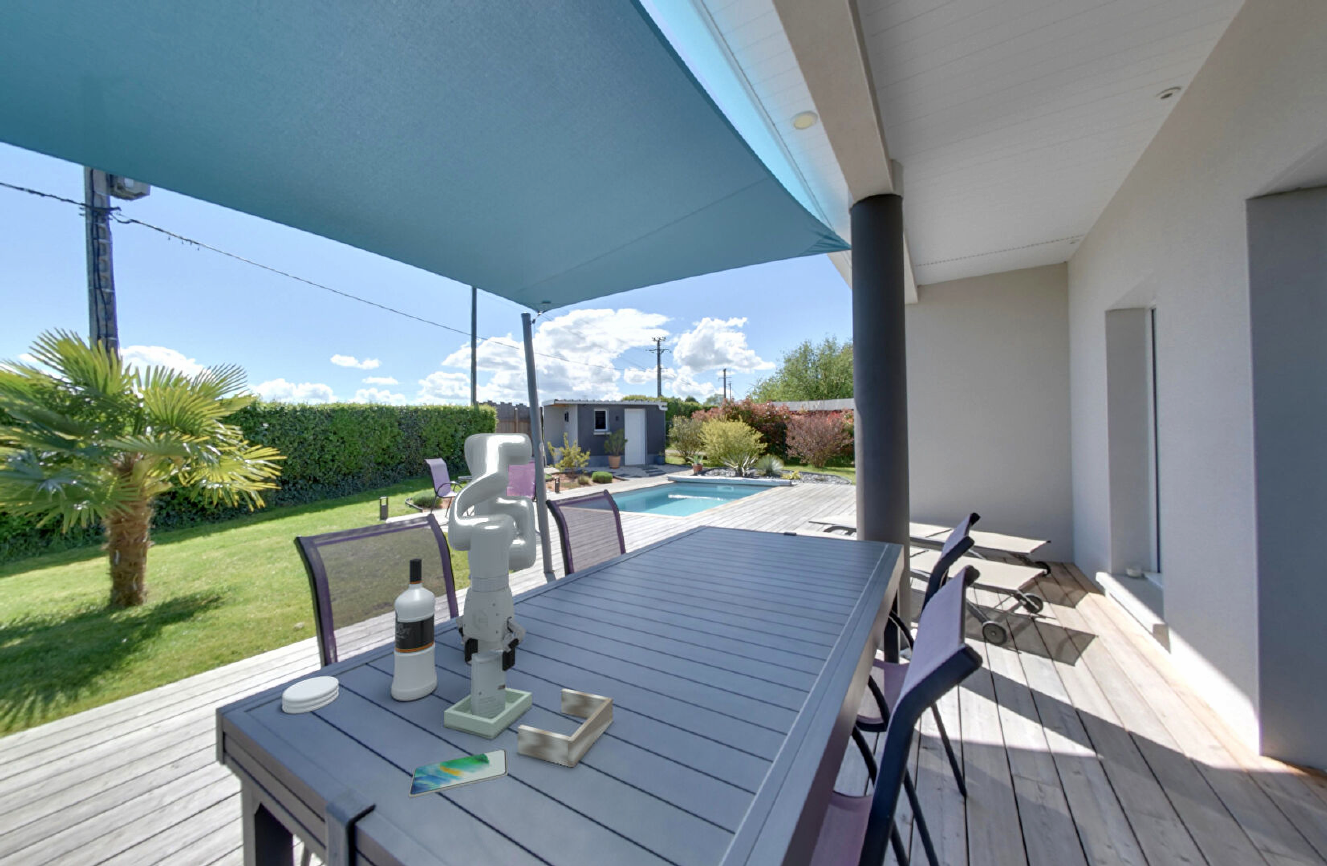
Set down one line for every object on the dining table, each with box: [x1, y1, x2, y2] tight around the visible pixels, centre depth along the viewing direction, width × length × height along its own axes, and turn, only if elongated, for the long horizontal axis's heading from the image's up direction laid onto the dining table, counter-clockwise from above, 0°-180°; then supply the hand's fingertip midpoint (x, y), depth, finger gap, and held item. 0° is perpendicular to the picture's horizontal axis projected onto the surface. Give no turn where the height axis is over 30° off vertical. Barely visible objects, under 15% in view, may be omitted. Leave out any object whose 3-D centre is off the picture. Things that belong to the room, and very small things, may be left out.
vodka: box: [390, 557, 438, 702], centre depth 109 cm, size 9×9×30 cm
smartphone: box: [408, 749, 508, 799], centre depth 82 cm, size 7×1×15 cm
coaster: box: [281, 675, 340, 715], centre depth 105 cm, size 10×10×4 cm
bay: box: [517, 688, 614, 768], centre depth 92 cm, size 12×15×4 cm
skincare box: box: [470, 648, 507, 719], centre depth 99 cm, size 6×4×12 cm
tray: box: [443, 686, 533, 741], centre depth 99 cm, size 12×12×3 cm
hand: (489, 663), depth 100 cm, fingers open, 9 cm apart
